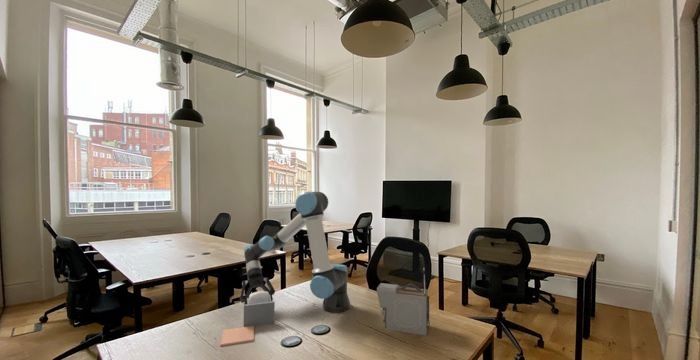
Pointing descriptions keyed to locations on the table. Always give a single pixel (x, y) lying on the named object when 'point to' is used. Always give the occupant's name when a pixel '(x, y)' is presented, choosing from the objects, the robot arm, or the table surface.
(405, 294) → the portable television
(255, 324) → the screen
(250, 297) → the photo printer
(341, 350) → the table surface
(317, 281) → the robot arm
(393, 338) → the table surface
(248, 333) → the display pad
